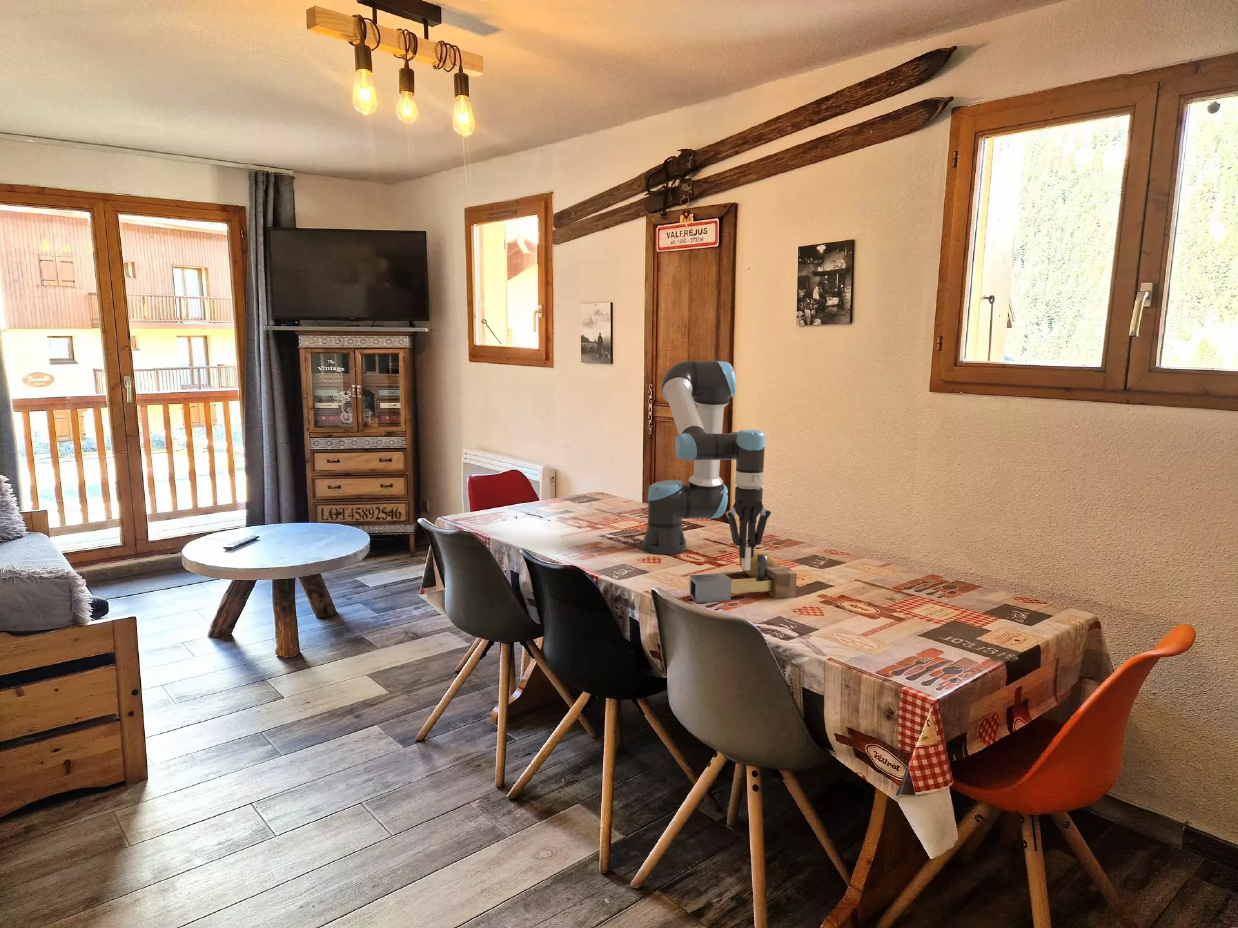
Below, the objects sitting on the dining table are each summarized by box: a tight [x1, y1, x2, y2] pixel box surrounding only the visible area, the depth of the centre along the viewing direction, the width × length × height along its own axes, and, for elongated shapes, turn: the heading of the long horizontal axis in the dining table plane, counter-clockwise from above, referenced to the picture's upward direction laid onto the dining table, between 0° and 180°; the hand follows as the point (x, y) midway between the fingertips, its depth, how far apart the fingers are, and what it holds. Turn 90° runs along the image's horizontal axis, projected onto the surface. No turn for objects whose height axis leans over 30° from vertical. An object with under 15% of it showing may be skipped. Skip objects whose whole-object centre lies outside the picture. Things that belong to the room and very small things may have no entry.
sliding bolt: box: [731, 553, 774, 594], centre depth 217 cm, size 3×19×10 cm, turn 103°
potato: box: [738, 549, 779, 578], centre depth 234 cm, size 10×14×8 cm
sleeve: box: [688, 572, 732, 604], centre depth 215 cm, size 6×10×6 cm, turn 103°
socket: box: [765, 564, 798, 600], centre depth 220 cm, size 8×6×7 cm
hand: (745, 568), depth 217 cm, fingers closed
